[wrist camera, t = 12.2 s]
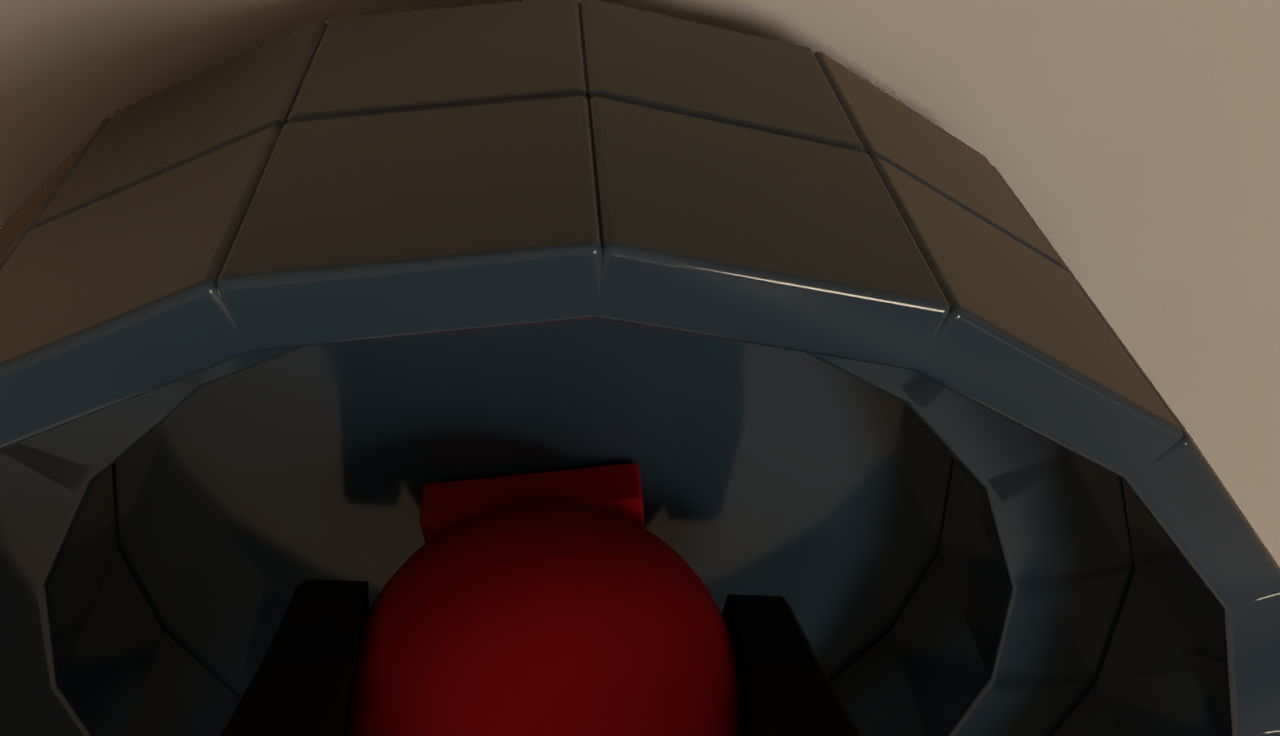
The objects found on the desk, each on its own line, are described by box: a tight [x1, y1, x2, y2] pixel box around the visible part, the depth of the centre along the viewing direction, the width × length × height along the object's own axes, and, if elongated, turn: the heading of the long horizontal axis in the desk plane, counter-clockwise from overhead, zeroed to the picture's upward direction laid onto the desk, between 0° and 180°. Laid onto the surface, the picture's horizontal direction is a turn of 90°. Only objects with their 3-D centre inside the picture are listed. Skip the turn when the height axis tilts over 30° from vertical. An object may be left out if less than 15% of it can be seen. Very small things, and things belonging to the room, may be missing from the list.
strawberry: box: [349, 463, 739, 736], centre depth 11 cm, size 4×4×4 cm
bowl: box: [0, 0, 1280, 736], centre depth 11 cm, size 13×13×4 cm
